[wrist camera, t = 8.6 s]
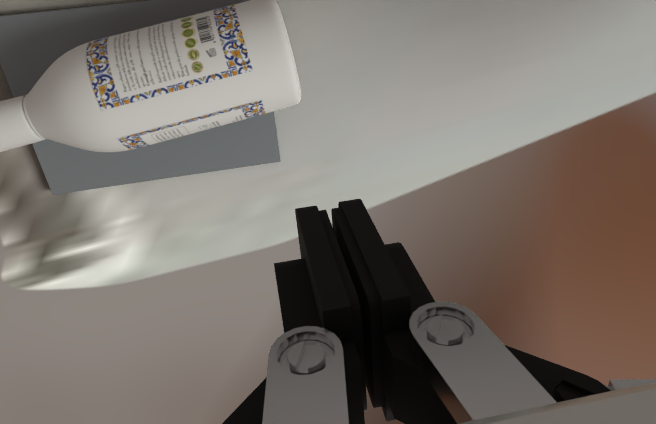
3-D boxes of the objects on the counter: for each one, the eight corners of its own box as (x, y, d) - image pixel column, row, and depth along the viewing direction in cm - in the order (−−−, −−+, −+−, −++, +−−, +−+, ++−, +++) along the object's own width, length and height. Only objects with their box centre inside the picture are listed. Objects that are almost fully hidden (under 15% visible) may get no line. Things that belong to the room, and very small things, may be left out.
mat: (256, -11, 34) (257, -10, 33) (279, 157, 40) (280, 161, 39) (-14, 16, 32) (-19, 18, 31) (55, 190, 38) (52, 194, 37)
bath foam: (268, -23, 32) (-40, 56, 31) (287, 21, 27) (-78, 116, 26) (290, 72, 37) (25, 142, 36) (309, 123, 32) (4, 206, 31)
